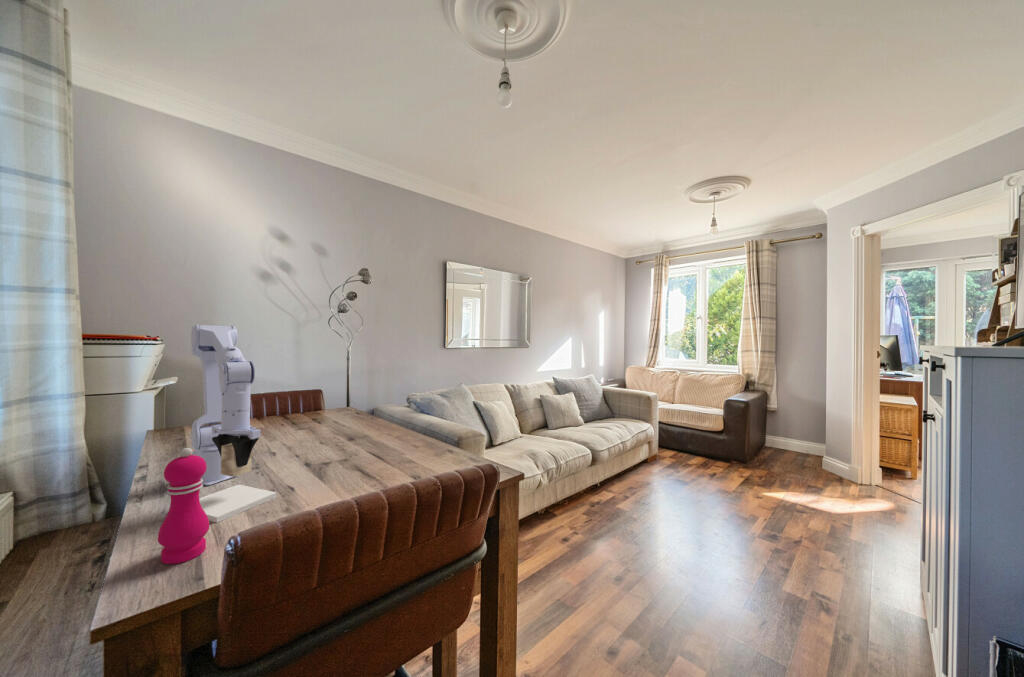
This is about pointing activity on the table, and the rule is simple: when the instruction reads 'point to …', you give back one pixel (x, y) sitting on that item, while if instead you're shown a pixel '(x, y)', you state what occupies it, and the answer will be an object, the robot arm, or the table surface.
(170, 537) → the pepper mill
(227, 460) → the birch block
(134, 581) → the table surface
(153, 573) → the table surface
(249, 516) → the table surface
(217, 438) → the robot arm
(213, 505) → the white board
